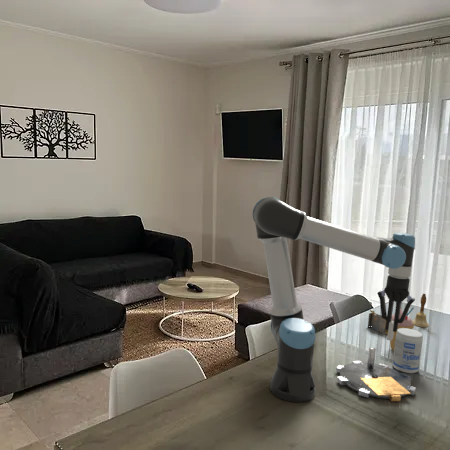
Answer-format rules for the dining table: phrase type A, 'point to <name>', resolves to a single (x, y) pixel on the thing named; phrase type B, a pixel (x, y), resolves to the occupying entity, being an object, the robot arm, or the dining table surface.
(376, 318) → the ruin model on sheet
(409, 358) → the supplement tub
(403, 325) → the ice cream cone
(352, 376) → the sprocket
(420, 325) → the hand bell
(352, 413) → the dining table surface
